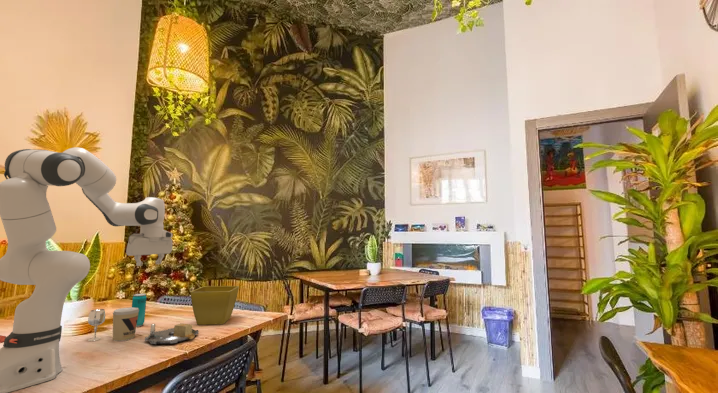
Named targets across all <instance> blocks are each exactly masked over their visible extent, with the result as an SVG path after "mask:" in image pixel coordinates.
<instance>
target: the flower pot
mask: <svg viewBox="0 0 718 393" xmlns="http://www.w3.org/2000/svg"><path fill="white" fill-rule="evenodd" d="M239 288H240V287H239V285H206V286H205V285H203V286H202V287H198V288H196V289H194V290H191V291H190V300H191V306H192V311H193V315H194V318H195V322H196V324H197V326H198V325H200V326H201V325H204V326H205V325H207V326H208V325H223V324H225V323H227V321H229V320H230V318H231V316H232V314H233V311H234V308H235V305H236V302H237V298H238V294H239V290H240V289H239Z"/></svg>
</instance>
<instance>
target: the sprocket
mask: <svg viewBox="0 0 718 393" xmlns="http://www.w3.org/2000/svg"><path fill="white" fill-rule="evenodd" d="M196 335H199V330H198V329H196V330H195V329H193V328H192V334H191V335H188V336H177V335H174V327H171V328H167V329H163V330H158V331H156V323H151V324H150V331H149V335H148V336H144V342H147V341H148V342H149V343H150V344H151V345H157V344H177V343H178V342H182V341H187V340H192V339H194V338H195V336H196Z"/></svg>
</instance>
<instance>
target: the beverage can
mask: <svg viewBox="0 0 718 393" xmlns="http://www.w3.org/2000/svg"><path fill="white" fill-rule="evenodd" d="M146 305H147V294H146V293H136V294H133V297H132V301H131V307H135V308H138V309H139V312H138V319H137V325H136V328H141V327H143V326H144V324H145V318H146V317H145V316H146V308H147V306H146Z"/></svg>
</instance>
